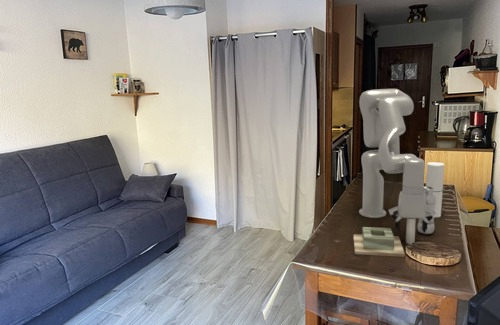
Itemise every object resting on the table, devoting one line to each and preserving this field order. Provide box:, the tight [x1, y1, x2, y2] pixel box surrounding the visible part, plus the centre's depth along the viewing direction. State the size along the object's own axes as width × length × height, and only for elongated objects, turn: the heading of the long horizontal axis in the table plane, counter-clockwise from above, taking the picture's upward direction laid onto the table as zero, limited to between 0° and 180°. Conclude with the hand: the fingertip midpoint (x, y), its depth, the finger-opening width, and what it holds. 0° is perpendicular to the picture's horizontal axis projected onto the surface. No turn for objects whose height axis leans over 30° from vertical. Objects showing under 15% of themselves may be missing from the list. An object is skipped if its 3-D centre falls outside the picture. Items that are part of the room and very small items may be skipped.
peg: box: [405, 218, 417, 245], centre depth 152 cm, size 3×3×12 cm
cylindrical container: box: [425, 161, 445, 219], centre depth 178 cm, size 7×7×25 cm
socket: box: [352, 226, 406, 258], centre depth 151 cm, size 16×18×6 cm
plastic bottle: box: [417, 187, 436, 235], centre depth 159 cm, size 6×7×20 cm
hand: (410, 230), depth 152 cm, fingers open, 9 cm apart
